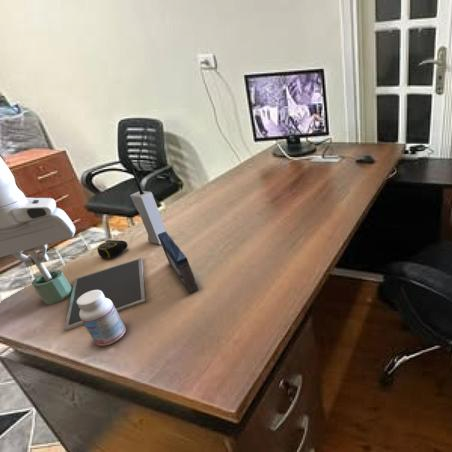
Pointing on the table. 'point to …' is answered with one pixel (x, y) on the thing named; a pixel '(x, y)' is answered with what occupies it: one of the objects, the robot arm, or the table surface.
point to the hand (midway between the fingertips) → (38, 262)
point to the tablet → (109, 289)
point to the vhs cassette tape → (178, 262)
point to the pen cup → (52, 287)
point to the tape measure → (111, 248)
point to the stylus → (39, 265)
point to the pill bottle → (100, 318)
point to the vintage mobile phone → (148, 212)
